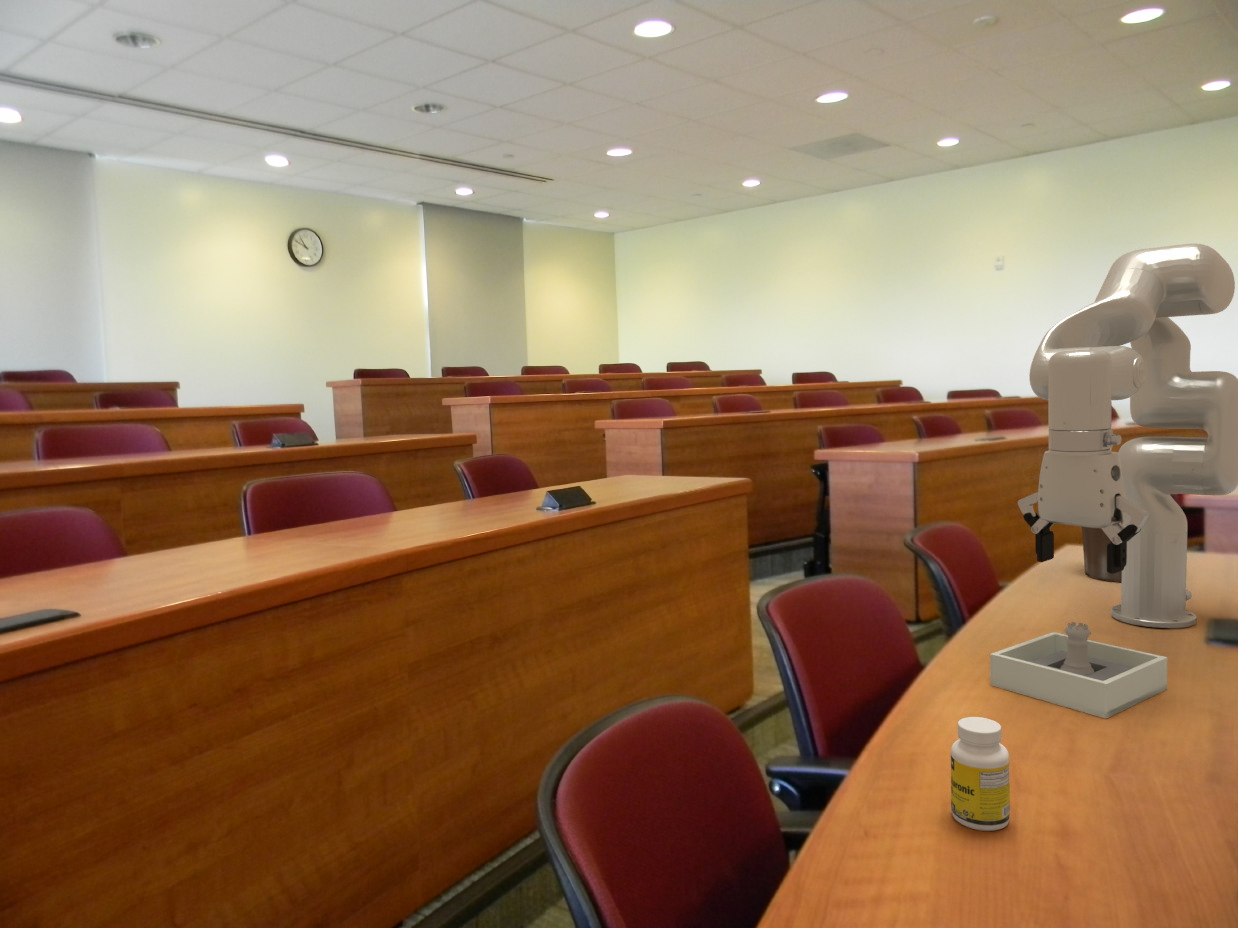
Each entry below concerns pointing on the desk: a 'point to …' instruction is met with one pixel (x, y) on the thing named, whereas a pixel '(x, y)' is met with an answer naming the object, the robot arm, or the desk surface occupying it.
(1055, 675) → the box
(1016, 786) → the desk surface
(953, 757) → the supplement bottle
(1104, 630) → the desk surface
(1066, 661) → the rook chess piece
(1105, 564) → the plant pot
